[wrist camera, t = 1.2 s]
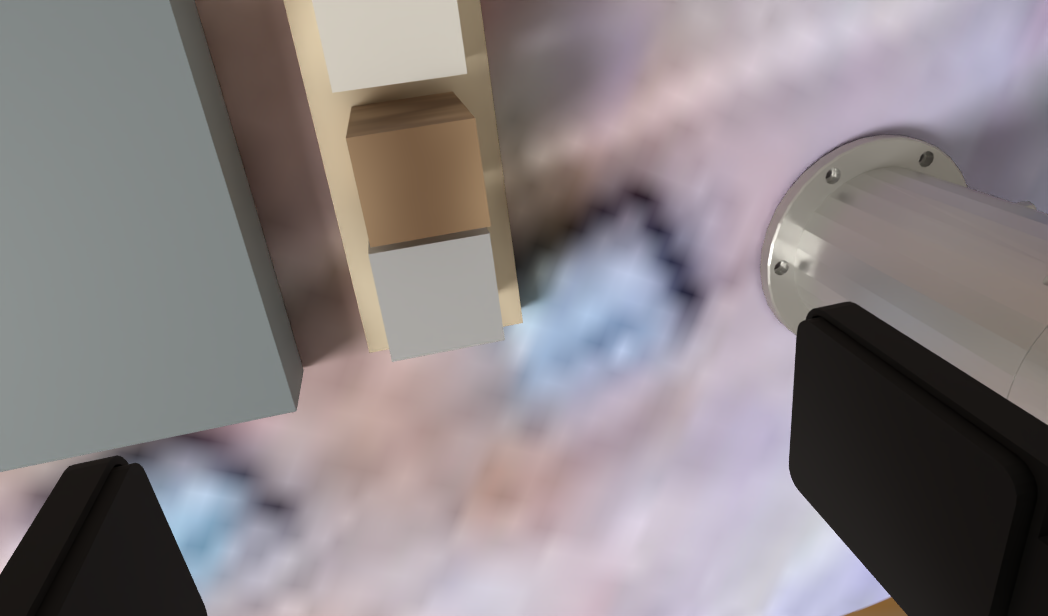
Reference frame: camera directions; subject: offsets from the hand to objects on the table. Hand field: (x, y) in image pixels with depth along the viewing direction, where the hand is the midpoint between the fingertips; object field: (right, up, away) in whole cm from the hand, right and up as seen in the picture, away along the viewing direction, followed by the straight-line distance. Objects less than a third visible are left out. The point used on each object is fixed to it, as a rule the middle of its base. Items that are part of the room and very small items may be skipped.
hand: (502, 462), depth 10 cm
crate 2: (-4, +5, +24) cm, 25 cm away
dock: (-19, +7, +21) cm, 30 cm away
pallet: (-5, +10, +23) cm, 26 cm away
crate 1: (-6, +15, +19) cm, 25 cm away
